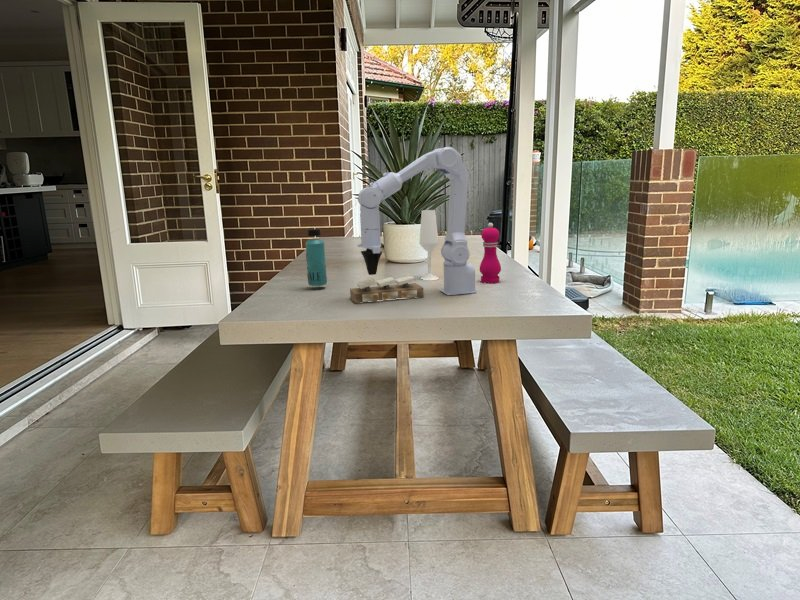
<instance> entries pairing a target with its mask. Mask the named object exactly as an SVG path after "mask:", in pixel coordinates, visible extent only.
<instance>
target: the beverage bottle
mask: <svg viewBox="0 0 800 600" xmlns="http://www.w3.org/2000/svg"><path fill="white" fill-rule="evenodd" d="M321 234H322V233H321V230H320V229H319V228H310V229H308V230H307V236H308V237H319V236H321ZM325 249H326V248H325V241H323V239H321V238H311V239H310V238H309V239H307V241H306V242H305V253H306V254H305V256H306V257H305V258H306V260H305V261H306V269H307V271H306V272H307V273H306V274H307V276H306V277H307V283H308V286H310V287H320V286H325V285H327V283H328V281H327V280H328V279H327V278H328V277H327V266H326V251H325Z"/></svg>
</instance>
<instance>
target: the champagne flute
mask: <svg viewBox="0 0 800 600" xmlns="http://www.w3.org/2000/svg"><path fill="white" fill-rule="evenodd" d="M436 215H437V213H436V209H425V210H423V209H422V210H421V215H420V216H421V217H420V228H419V245H420V247H421V248H422V249H423V250H424V251H426V252H427V273H426V274H424V275H423V276H422V277H420V278H421V279H423V280H422V281H435V280H439V279H440V277H438V276H436V275H435V274H433V273H432V251H434V250H435V249H436V248H437V246H438V244H439V235H438V224H437V216H436ZM421 279H420V280H421Z"/></svg>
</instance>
